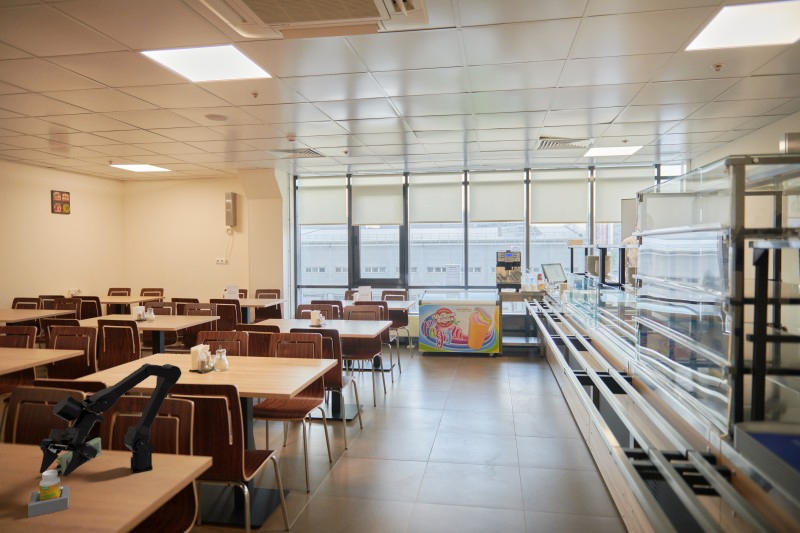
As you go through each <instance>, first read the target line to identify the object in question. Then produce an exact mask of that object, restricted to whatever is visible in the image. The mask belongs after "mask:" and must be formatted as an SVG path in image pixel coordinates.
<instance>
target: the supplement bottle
mask: <svg viewBox="0 0 800 533" xmlns="http://www.w3.org/2000/svg"><path fill="white" fill-rule="evenodd" d="M57 471H58V469H49V470H48V469H47V470H46V471H45V472H43V473H42V474H41V478H42V479H41V480H40V482H39V491H40V501H44V500H49V499H54V498H59V497H61V489H60V487H61V478H60V476H58V473H57Z"/></svg>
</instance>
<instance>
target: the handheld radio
mask: <svg viewBox="0 0 800 533" xmlns="http://www.w3.org/2000/svg"><path fill="white" fill-rule="evenodd" d="M86 443H89V444H91V445H92V446H93V447H95V448H96V449H97V455H96V457H98V456H100V455H102V438H101V437H95V438H93V439H91V440H89V441H87V442H86ZM96 457H95V458H96ZM71 459H72V452H69V451H66V452H64V453H62V454H61V455H59V456H58V457H57V459H56V464H57V465H56V466H55V468H56V470H57V473H58V475H61V476H63V474H64V472H65V470H66V468H67V466H68V464H69V463H70V461H71ZM90 459H91V460H94V458H90ZM87 462H89V461H87ZM87 462H85V463H84V464H86V463H87ZM58 475H57V476H58Z"/></svg>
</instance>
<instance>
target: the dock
mask: <svg viewBox="0 0 800 533" xmlns="http://www.w3.org/2000/svg"><path fill="white" fill-rule="evenodd" d="M60 489H61V497H59V498H54V499H49V500H44V501H40V490H39V491H33V492H31V495H30V498H29V501H28V505H27V513H28V514H27V516H28V518H33V517H37V516H42V515H46V514H51V513H56V512H61V511H66V510H68V509H69V503H70V495H71V493H70V485H69V484H68V485H63V486H60Z"/></svg>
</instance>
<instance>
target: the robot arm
mask: <svg viewBox="0 0 800 533" xmlns="http://www.w3.org/2000/svg"><path fill="white" fill-rule="evenodd" d="M150 376H151V377H156V383H155V384H156V386H155V387H154V390H153V391H152V394H151V395H150V397H149V399H148V402H147V404H146V406H145V407H144V410H143V412H142V413H141V415H140V417H139V419H138V422H137V423H136V424H135V425H134V426H131V425H130V426H128V428H127V432H126V433H125V434H124V436H123V438H124V440H123V443H124V446H125V447H127V449H129V451H130V452H131V456H130V470H131V472H132V474H137V473H141V472H142V473H143V472H146V471H151V470H154V469H153V458H152V457H153V456H152V454H153V453H154V452H155V448H156V447H155V446H154V445H153V444H151V443H150V438H151V429H152V425H153V423H154V421H155V419H156V417H157V415H158V413H159V411H160V409H161V407H162V404H163V403H164V400H165V399H166V397H167V395H168V393H169V391H170V389H171V388H173V387H174V386H175V385H176V384H177V382H178V381H179V379H180V378H181V376H182V370H181V368H180V367H179V366H176V365H174V364H170V363H165V364H163V365H161V364H160V365H159V364H151V363H146V362H145V363H143V364H142V365H141V366H140V367H138V369H136V370H134V371H133V372H131V373H130V374H128V375H127V376H125V377H124V378H123V379H121V380H119V381H118V382H117V383H115V384H113V385H112V386H109V387H106V388H103V389H101V390H98V391H97V392H95V393H93V394H91V395H90V396H89V397H88V398H85V399H82V400H79V401H78V400H77V399H75V398H74V397H73V396H72V395H69V394H68V395H67V396H66V397H65V398H63V399H61V400H60V401H58V402H57V403H56V404H55V406H54V407H53V409H52V414H53V415H55V416H57V417H59V418H60V419H62V420H64V421H67V422H68V423H69V422H71V421H74V422H73V423H72V425H71V426H67V427H66V428H65V429H60V428H59V429H58V428H51V430H50V434H49V436H48V438H44V439H42V440H41V441H40V443H39V444H38V447H39V448H40V450H41V451H42V460H41V463H40V464H41V466H40V469H39V473H40V474H41V475H42V473H43V472H45V471H48V469H49V468H50V467H51V466H52V465H53V463H54V462H55V461H57V457H59V456H60V455H59V454H60V453H61V452H72V459H71V461H70V463H69V464H68V466H67V468H66V470H65V472H64V474H63V475H62V476H63V477H65V478H66V477H68V476H69V475H70V474H72V473H73V472H74V471H76V469H78V468H79V467H81V466H82V465H83V464H86V463H87V461H88V462H90V461H91V460H92V459H90V458H93V459H95V458H96V455H97V449H96V448H95V447H93V446H92V445H91V444H89V443H87V442H85V440H86V439H90V437H91V434H89V433H90V431H91V430H92V428H93V427H94V425H95V423H98V422H104V420H105V418H104V416H103V413H104V412H107V411H109V410H110V409H111V408H112V407H113V406H114V405H116V404H117V402H118V400H119V399H120V398H121V397H122V396H123V395H124V394H126V393H127V392H129V391H130V390H132V389H133V388H135V387H136V386H138V385H139V384H140V383H142V382H144V381H145V380H147V379H148V378H149V377H150ZM95 411H96V412H95ZM97 412H98V413H97ZM85 462H86V463H85Z"/></svg>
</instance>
